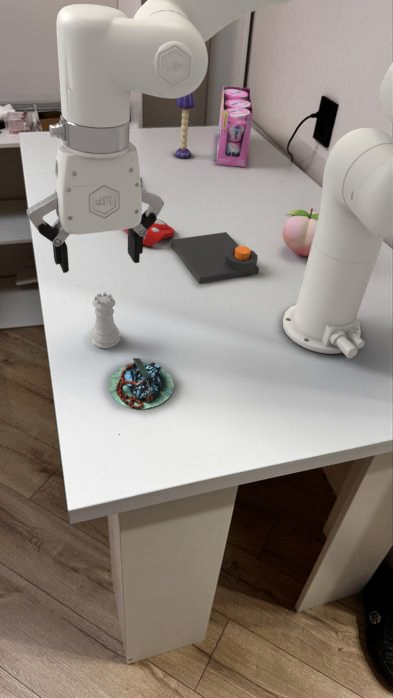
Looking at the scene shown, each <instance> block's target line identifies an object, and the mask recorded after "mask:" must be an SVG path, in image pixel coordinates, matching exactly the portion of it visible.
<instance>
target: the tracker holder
mask: <svg viewBox="0 0 393 698" xmlns="http://www.w3.org/2000/svg"><path fill="white" fill-rule="evenodd" d="M124 231H125V232H126V233H127V234H128V229H125V230H124ZM174 236H175V229H174V228H173V227H171V226H170V225H168V224H167V223H166V222H165V221H164V220H162V219H159V218H157V220H156V221H155V223H154V224H153V225H152V226H151V227H150V228H149V229H148V230H147V234H146V235H145V237H143V246H147V247H153V246H155V245H156V244H157V243H158V242H160V241H162V240H164V239H168V238H172V237H174Z"/></svg>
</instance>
